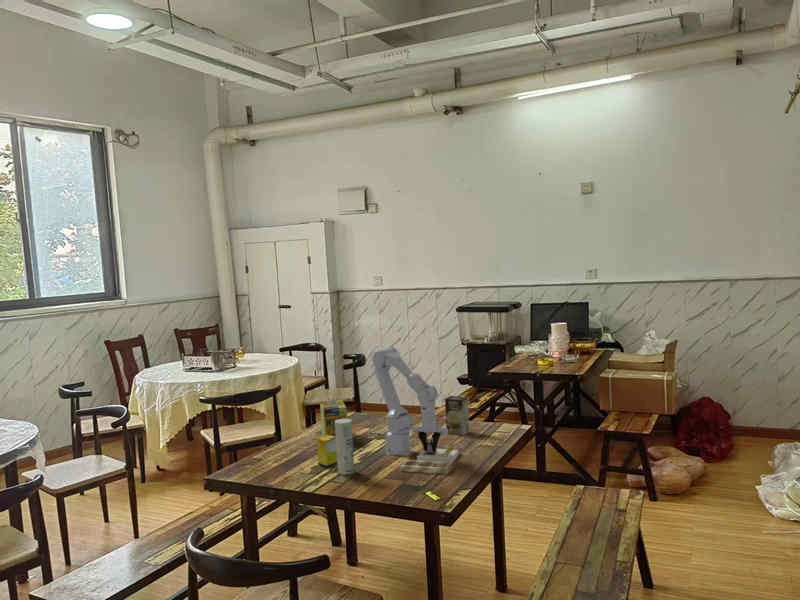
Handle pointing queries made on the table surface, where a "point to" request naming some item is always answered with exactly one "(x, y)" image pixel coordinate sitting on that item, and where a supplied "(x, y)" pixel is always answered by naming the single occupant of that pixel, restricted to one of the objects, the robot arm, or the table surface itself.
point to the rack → (426, 466)
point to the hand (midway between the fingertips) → (430, 450)
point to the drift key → (449, 449)
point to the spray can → (344, 446)
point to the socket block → (438, 456)
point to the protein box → (331, 415)
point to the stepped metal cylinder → (429, 447)
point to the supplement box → (327, 450)
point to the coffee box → (457, 415)
